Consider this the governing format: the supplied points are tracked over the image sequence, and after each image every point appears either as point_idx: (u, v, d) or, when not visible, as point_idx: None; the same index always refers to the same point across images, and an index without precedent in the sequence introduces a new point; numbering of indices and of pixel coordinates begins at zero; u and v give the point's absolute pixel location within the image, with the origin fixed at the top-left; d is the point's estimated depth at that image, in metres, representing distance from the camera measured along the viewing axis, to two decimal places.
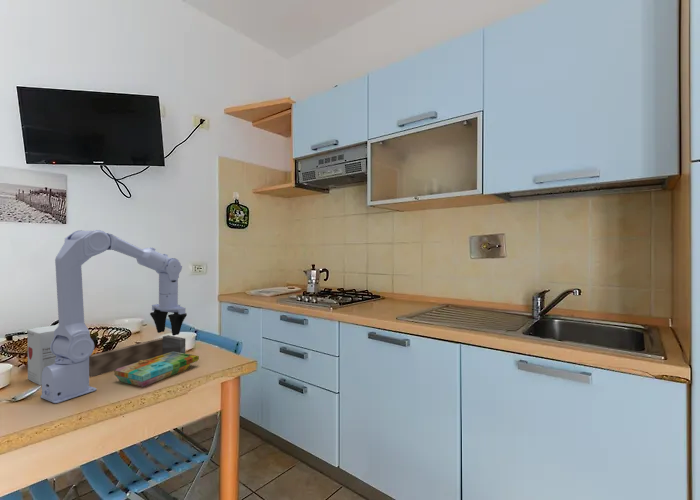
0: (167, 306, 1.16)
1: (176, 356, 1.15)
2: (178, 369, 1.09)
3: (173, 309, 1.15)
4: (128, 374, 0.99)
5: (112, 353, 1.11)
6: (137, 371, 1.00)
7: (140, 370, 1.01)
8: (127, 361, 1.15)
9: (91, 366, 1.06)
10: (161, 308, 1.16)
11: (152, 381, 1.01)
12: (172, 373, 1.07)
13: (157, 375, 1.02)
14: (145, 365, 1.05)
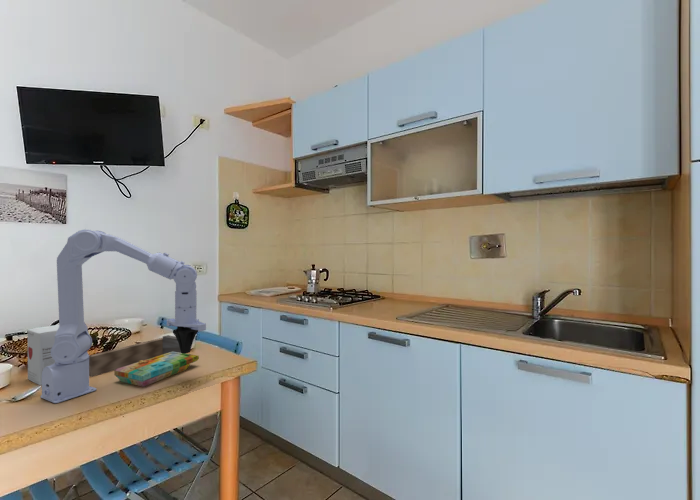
0: (185, 322, 1.01)
1: (176, 356, 1.15)
2: (178, 369, 1.09)
3: (192, 325, 1.00)
4: (128, 374, 1.00)
5: (112, 353, 1.11)
6: (137, 371, 1.00)
7: (140, 370, 1.01)
8: (127, 361, 1.15)
9: (91, 366, 1.06)
10: (178, 324, 1.00)
11: (152, 381, 1.01)
12: (172, 373, 1.07)
13: (157, 374, 1.02)
14: (145, 365, 1.05)
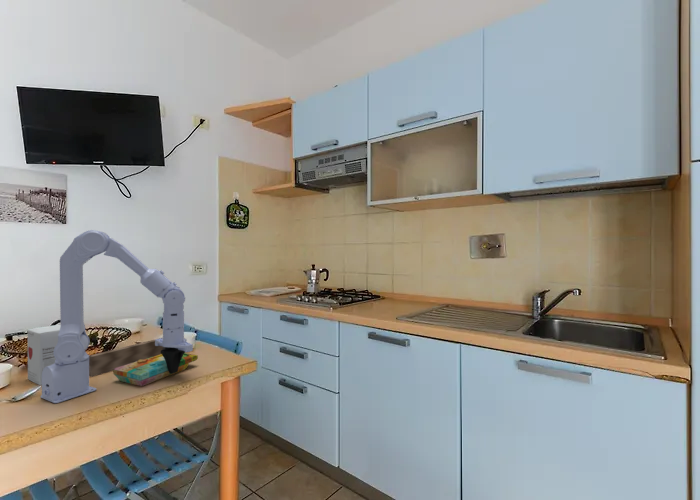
0: (172, 343, 1.03)
1: None
2: None
3: (179, 346, 1.02)
4: (127, 373, 1.00)
5: (112, 353, 1.11)
6: (136, 370, 1.01)
7: (139, 369, 1.01)
8: (127, 361, 1.15)
9: (91, 366, 1.06)
10: (165, 345, 1.03)
11: (151, 380, 1.01)
12: None
13: (155, 374, 1.02)
14: (144, 364, 1.05)
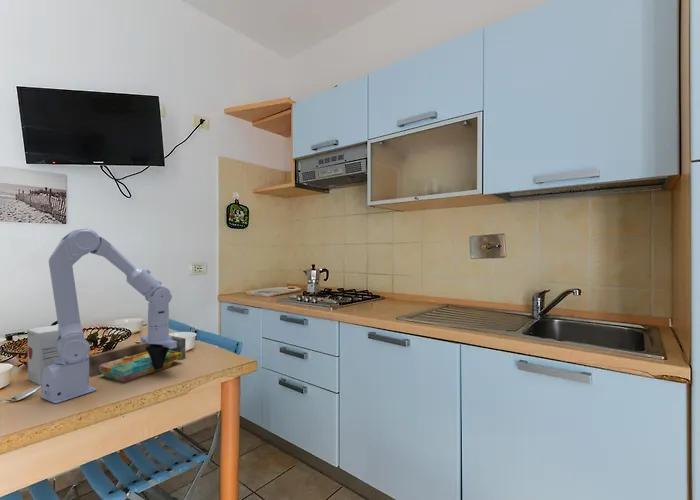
0: (157, 339, 1.06)
1: None
2: None
3: (163, 343, 1.05)
4: (110, 369, 1.03)
5: (112, 353, 1.11)
6: (119, 367, 1.04)
7: (122, 366, 1.04)
8: None
9: (91, 366, 1.06)
10: (150, 342, 1.06)
11: (134, 376, 1.04)
12: (155, 369, 1.10)
13: (138, 370, 1.05)
14: (128, 361, 1.08)
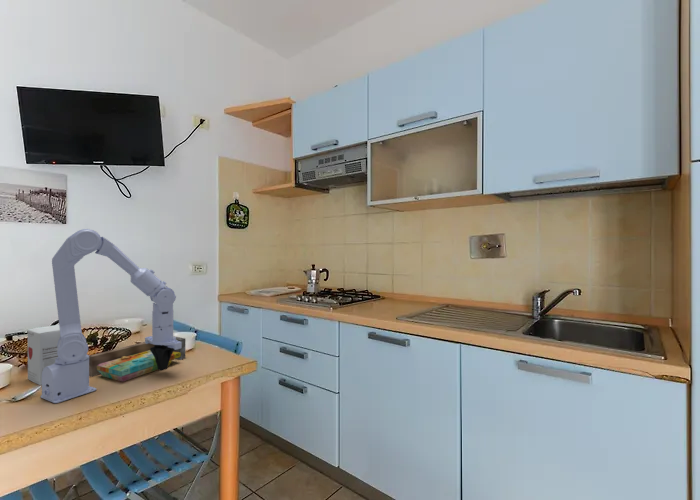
0: (161, 340, 1.05)
1: None
2: None
3: (168, 344, 1.05)
4: (109, 369, 1.03)
5: (112, 353, 1.11)
6: (117, 366, 1.04)
7: (120, 365, 1.04)
8: None
9: (91, 366, 1.06)
10: (155, 342, 1.05)
11: (132, 376, 1.05)
12: (153, 369, 1.11)
13: (136, 370, 1.05)
14: (127, 361, 1.09)
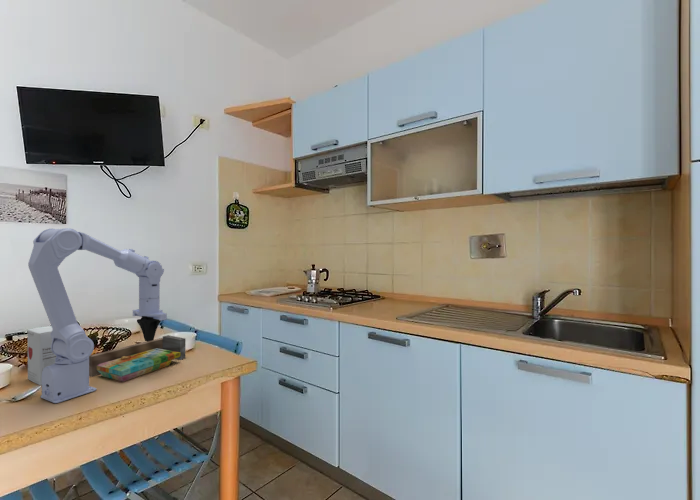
0: (147, 312, 1.09)
1: (159, 353, 1.18)
2: (159, 365, 1.12)
3: (153, 315, 1.09)
4: (109, 369, 1.03)
5: (112, 353, 1.11)
6: (118, 366, 1.04)
7: (121, 365, 1.04)
8: None
9: (91, 366, 1.06)
10: (141, 314, 1.09)
11: (132, 376, 1.05)
12: (153, 369, 1.11)
13: (137, 370, 1.05)
14: (127, 361, 1.09)
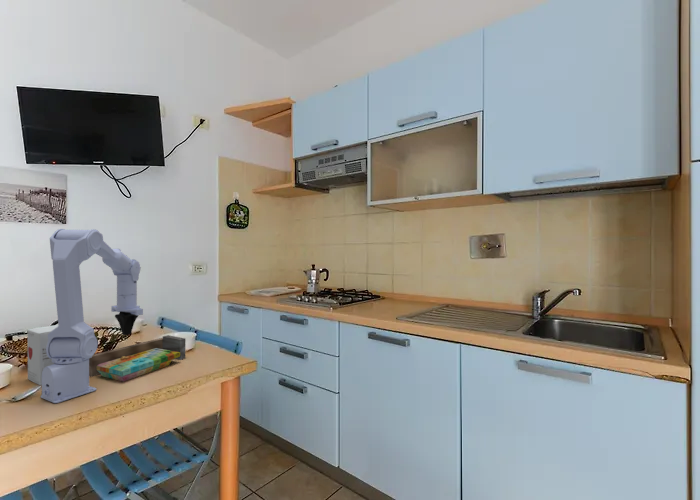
0: (125, 307, 1.17)
1: (159, 352, 1.18)
2: (159, 365, 1.12)
3: (130, 310, 1.16)
4: (109, 369, 1.03)
5: (112, 353, 1.11)
6: (118, 366, 1.04)
7: (121, 365, 1.04)
8: None
9: (91, 366, 1.06)
10: (119, 309, 1.17)
11: (132, 376, 1.05)
12: (153, 369, 1.11)
13: (137, 370, 1.05)
14: (127, 361, 1.09)
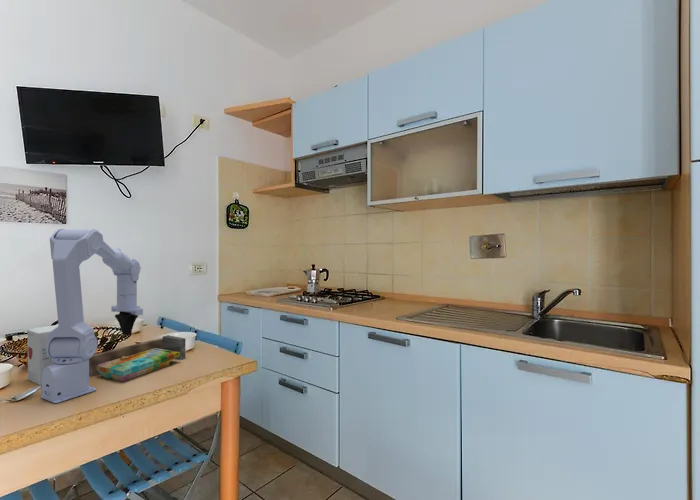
0: (125, 307, 1.17)
1: (158, 352, 1.18)
2: (159, 365, 1.13)
3: (130, 310, 1.16)
4: (109, 369, 1.03)
5: (112, 353, 1.11)
6: (118, 366, 1.04)
7: (121, 365, 1.04)
8: None
9: (91, 366, 1.06)
10: (119, 309, 1.17)
11: (133, 376, 1.05)
12: (153, 368, 1.11)
13: (137, 370, 1.05)
14: (127, 361, 1.09)
